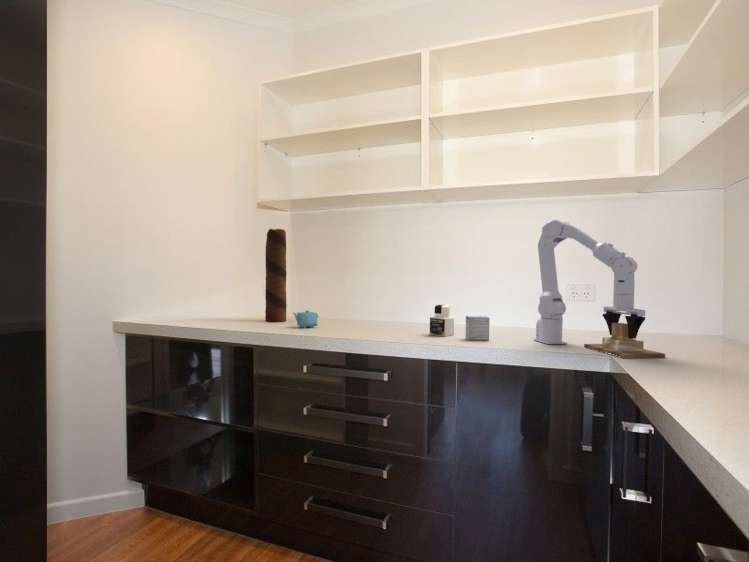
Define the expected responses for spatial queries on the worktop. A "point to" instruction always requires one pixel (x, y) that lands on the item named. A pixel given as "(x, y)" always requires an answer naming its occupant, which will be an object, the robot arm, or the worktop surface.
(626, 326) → the oak peg
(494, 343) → the worktop surface
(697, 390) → the worktop surface
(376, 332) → the worktop surface
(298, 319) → the teapot
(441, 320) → the medicine bottle
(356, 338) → the worktop surface
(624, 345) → the walnut board
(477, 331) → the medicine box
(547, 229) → the robot arm
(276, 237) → the wafer roll
